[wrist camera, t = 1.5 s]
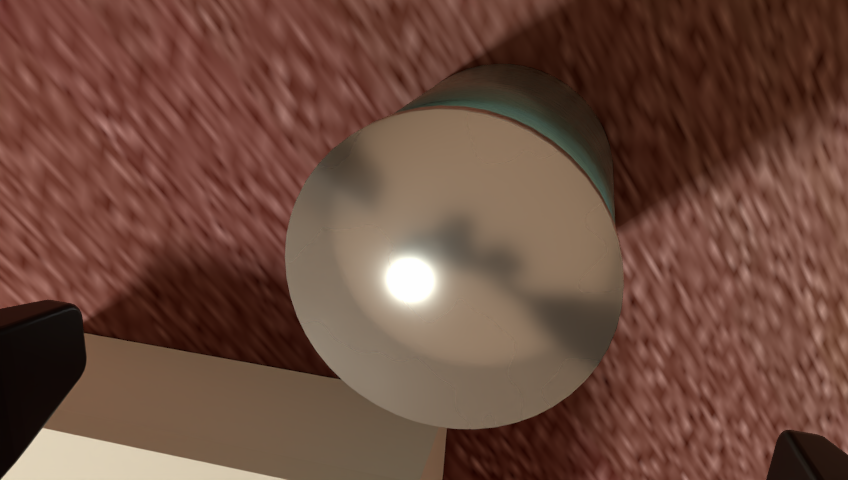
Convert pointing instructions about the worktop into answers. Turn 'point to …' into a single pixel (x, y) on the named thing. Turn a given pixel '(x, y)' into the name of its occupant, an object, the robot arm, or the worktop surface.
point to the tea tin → (463, 251)
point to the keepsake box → (220, 424)
